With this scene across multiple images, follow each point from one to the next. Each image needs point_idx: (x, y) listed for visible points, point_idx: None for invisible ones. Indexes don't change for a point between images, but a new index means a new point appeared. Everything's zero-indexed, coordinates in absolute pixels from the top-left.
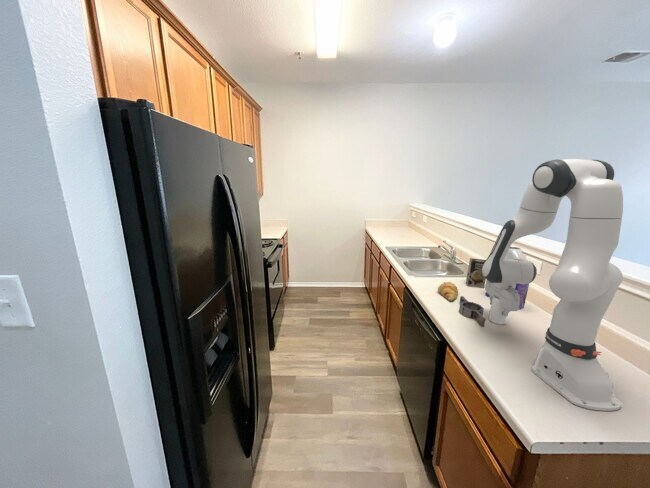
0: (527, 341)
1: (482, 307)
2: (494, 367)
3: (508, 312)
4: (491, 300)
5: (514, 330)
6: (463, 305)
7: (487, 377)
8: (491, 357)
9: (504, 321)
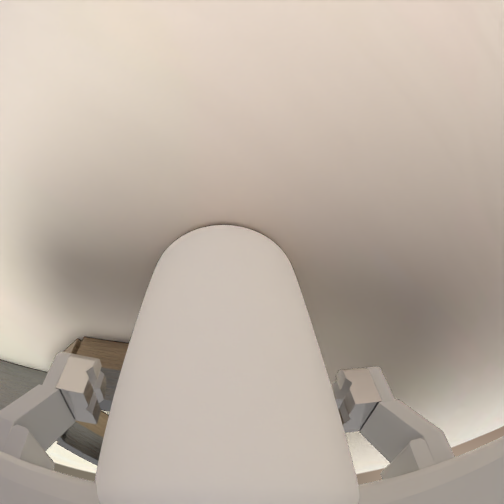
0: (496, 239)
1: (110, 403)
2: (487, 416)
3: (403, 407)
4: (63, 428)
5: (389, 230)
6: (84, 437)
7: (490, 429)
8: (467, 416)
9: (296, 280)
